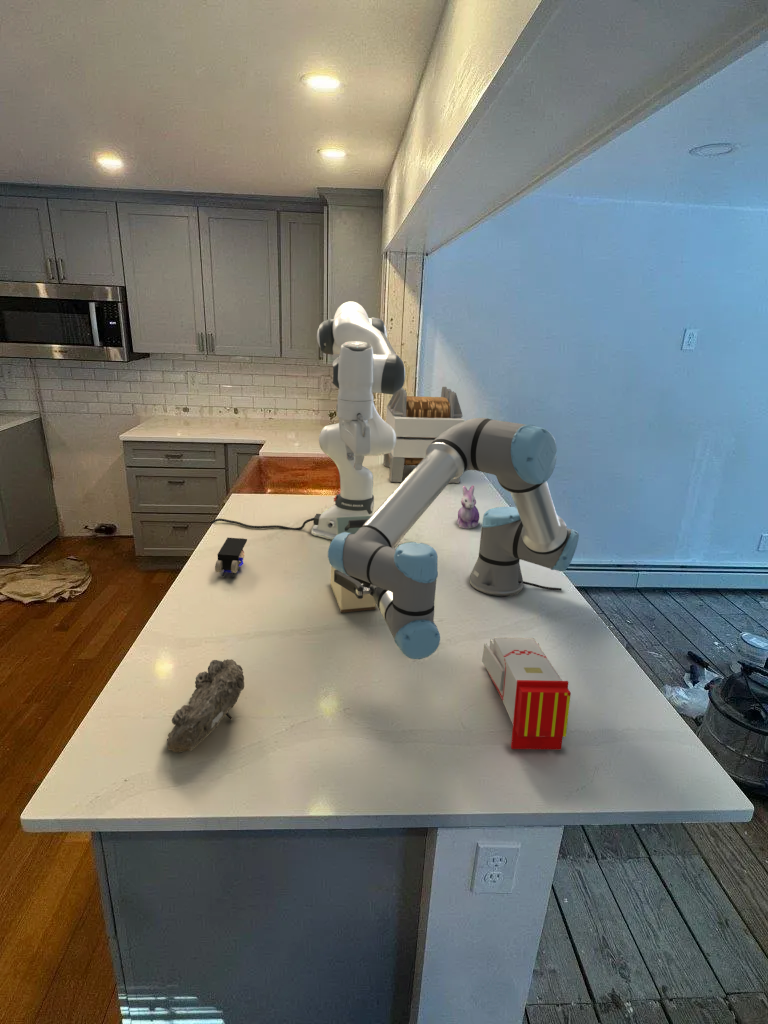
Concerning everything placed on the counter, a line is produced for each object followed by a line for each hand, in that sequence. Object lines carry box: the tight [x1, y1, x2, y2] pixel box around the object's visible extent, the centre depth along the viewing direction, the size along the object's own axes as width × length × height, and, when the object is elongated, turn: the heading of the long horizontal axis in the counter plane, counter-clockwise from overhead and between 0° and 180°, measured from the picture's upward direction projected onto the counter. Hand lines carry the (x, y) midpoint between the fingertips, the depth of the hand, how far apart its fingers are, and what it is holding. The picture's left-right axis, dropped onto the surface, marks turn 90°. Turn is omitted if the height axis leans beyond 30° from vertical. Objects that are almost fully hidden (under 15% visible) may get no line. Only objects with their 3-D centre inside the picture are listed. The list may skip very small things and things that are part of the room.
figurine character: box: [214, 537, 248, 578], centre depth 166 cm, size 7×8×15 cm
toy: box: [481, 636, 572, 751], centre depth 115 cm, size 12×13×30 cm
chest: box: [330, 565, 377, 614], centre depth 153 cm, size 15×9×9 cm, turn 15°
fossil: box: [166, 658, 245, 754], centre depth 106 cm, size 22×10×15 cm
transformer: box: [383, 386, 466, 484], centre depth 268 cm, size 34×33×41 cm
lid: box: [336, 516, 371, 534], centre depth 142 cm, size 16×9×9 cm
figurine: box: [456, 484, 480, 530], centre depth 209 cm, size 9×10×15 cm
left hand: (353, 464), depth 145 cm, fingers open, 8 cm apart
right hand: (371, 557), depth 131 cm, fingers open, 13 cm apart
